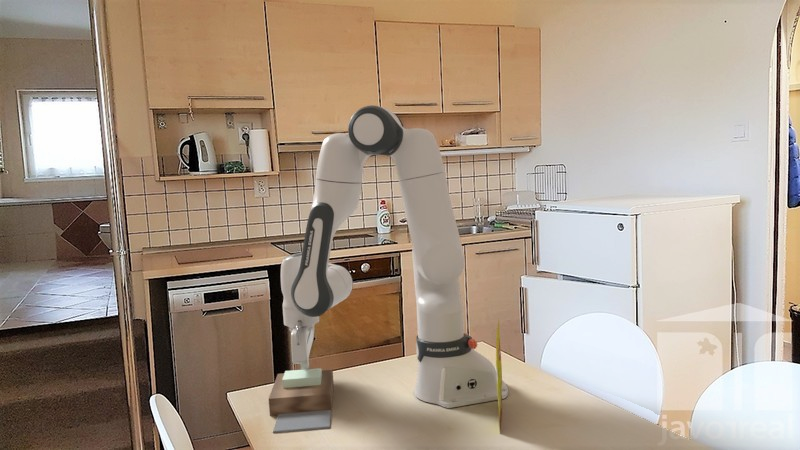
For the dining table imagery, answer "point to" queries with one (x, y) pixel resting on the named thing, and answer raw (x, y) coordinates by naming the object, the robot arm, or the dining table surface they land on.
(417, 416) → the dining table surface
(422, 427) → the dining table surface
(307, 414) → the mat
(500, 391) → the food package
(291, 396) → the board
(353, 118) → the robot arm
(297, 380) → the mint green block
